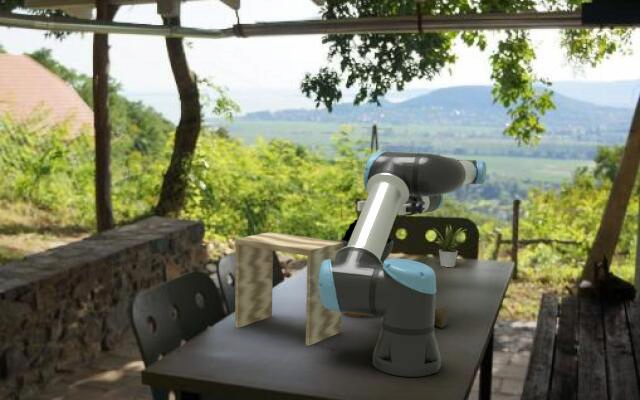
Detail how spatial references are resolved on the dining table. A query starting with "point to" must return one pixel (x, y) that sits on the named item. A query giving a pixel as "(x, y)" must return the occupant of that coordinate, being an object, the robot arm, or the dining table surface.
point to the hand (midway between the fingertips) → (378, 208)
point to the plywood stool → (258, 277)
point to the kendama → (440, 317)
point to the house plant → (448, 248)
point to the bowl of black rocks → (349, 233)
